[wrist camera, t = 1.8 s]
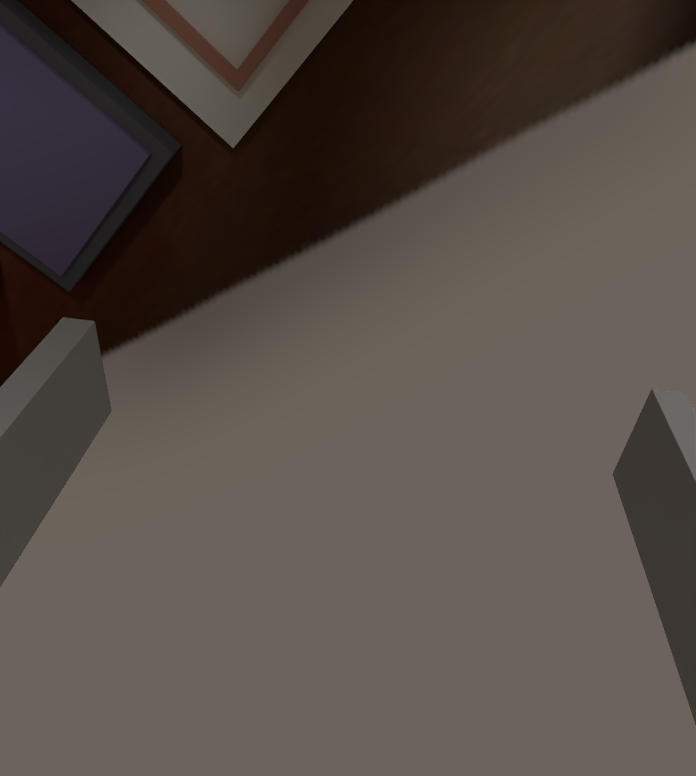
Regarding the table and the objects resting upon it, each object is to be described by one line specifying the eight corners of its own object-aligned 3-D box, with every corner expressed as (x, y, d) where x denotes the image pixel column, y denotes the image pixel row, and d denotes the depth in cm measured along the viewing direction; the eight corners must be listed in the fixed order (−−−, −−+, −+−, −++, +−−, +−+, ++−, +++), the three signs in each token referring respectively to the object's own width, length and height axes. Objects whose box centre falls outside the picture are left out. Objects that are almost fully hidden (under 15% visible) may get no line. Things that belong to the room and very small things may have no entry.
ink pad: (-101, 146, 34) (-123, 156, 33) (-19, -32, 29) (-41, -30, 27) (79, 280, 38) (66, 294, 37) (182, 145, 33) (171, 155, 31)
